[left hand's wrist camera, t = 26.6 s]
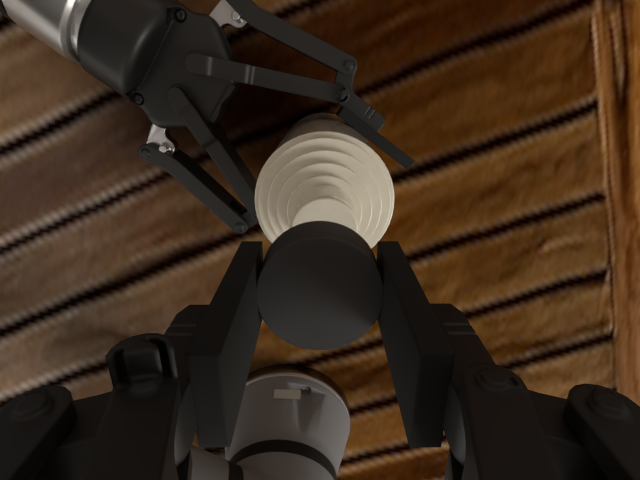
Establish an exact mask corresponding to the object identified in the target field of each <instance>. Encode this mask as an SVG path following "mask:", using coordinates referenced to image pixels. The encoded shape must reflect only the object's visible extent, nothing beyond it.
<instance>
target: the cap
mask: <svg viewBox="0 0 640 480" xmlns="http://www.w3.org/2000/svg"><path fill="white" fill-rule="evenodd" d="M256 288H257V303H258V310H259V312H260V315H261V317H262V319H263V320H264V322H265V323H266V325H267V326H268V327H269V328H270V330H271V331H273V332H274V333H275V334H276V335H277V336H278V337H280V338H281V339H283V340H284V341H286V342H288V343H290V344H292V345H295V346H298V347H301V348H305V349H311V350H328V349H335V348H339V347H342V346H345V345H348V344H350V343H352V342H354V341H356V340H357V339H359V338H360V337H362V336H363V335H364V334H365V333H366V332H367V331H369V329H370V328H371V327H372V326H373V325H374V323H375V322H376V320H377V319H378V317H379V314H380V312H381V309H382V300H383V281H382V277H381V274H380V271H379V268H378V265H377V262H376V259H375V256H374V254H373V251H372V249H371V248H370V246H369V245H368V243H367V242H366V241H365V240H364V239H363V238H362V237H361V236H360V235H359V234H358V233H357V232H355V231H354V230H352V229H350V228H348V227H346V226H344V225H341V224H338V223H335V222H330V221H310V222H305V223H302V224H298V225H296V226H294V227H291V228H290V229H288V230H286V231H285V232H283V233H282V234H281V235H280V236H279V237H278V238H277V239H276V240H275V241H274V242H273V243H272V245H271V246H270V248H269V249H268V251H267V253H266V256H265V259H264V262H263V265H262V268H261V271H260V274H259V277H258V280H257V285H256Z"/></svg>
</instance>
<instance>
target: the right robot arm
mask: <svg viewBox="0 0 640 480" xmlns="http://www.w3.org/2000/svg"><path fill="white" fill-rule="evenodd" d="M0 14H2V15H3V16H5V17H6V18H8V19H9V20H11V21H12V22H13V23H15V24H17V25H18V26H20V27H21V28H23V29H24V30H25V31H27V32H28V33H30V34H31V35H33V36H34V37H36V38H37V39H39V40H40V41H42V42H43V43H45V44H46V45H47V46H49V47H50V48H52V49H53V50H55V51H56V52H58V53H59V54H61V55H62V56H64V57H65V58H67V59H68V60H70V61H71V62H72V63H76V64H81V65H82V67H83V68H84V70H85V71H86V72H88V73H89V74H91V75H92V76H94V77H95V78H97V79H98V80H100V81H101V82H103V83H104V84H106V85H107V86H109V87H110V88H112V89H113V90H115V91H116V92H118V93H119V94H120V95H122V96H123V97H125V98H126V99H128V100H129V101H131V102H133V103H134V104H136V105H137V106H139V107H140V108H141V109H142V110H143V111H144V112H145V114H146V115H147V117H148V118H149V120H150V121H151V122H152V126H151V130H150V133H149V136H148V139H147V143H146V144H144V145H142V146H140V147H139V149H138V154H139V156H140V158H141V159H143V160H144V161H146V162H148V163H151V164H153V165H155V166H157V167H160V168H162V169H164V170H166V171H167V172H168V173H169V174H170V175H172V176H173V177H174V178H175V179H176V180H177V181H178V182H179V183H181V184H182V185H183V186H184V187H185V188H186V189H187V190H188V191H190V192H191V193H192V194H193V195H194V196H195V197H196V198H197V199H199V200H200V201H201V202H202V203H203V204H204V205H205V206H206V207H208V208H209V209H210V210H211V211H212V212H213V213H214V214H215V215H217V216H218V217H219V218H220V219H221V220H222V221H223V222H224V223H226V224H227V225H228V226H229V227H230V228H231V229H232V230H233V231H235V232H236V233H238V234H243V233H245V232H246V230H247V229H249V228H250V227H252V226H253V225H255V224H256V223H259V221H258V218H257V214H256V210H255V189H256V183H257V182H256V180H255V179H254V177H253V176H252V174H251V173H250V171H249V170H248V168H247V167H246V165H245V164H244V162H243V161H242V159H241V158H240V156H239V155H238V153H237V152H236V150H235V149H234V147H233V146H232V144H231V143H230V141H229V140H228V138H227V136H226V133H225V131H224V129H223V127H222V126H221V124H220V123H219V122H220V121H221V119H222V118H223V116H224V114H225V112H226V108H227V105H228V102H229V101H230V100H231V99H232V98H233V97H234V96H235V95H236V94H237V92H238V90H239V89H240V87H241V85H240V83H245V84H251V85H256V86H260V87H265V88H270V89H274V90H279V91H284V92H288V93H293V94H298V95H302V96H307V97H312V98H316V99H321V100H326V101H331V102H335V103H338V104H339V105H341V107H340V109H339V110H338V112H337V113H336V114H337V116H338V117H339V118H340V119H341V120H343V121H344V122H345V123H347V124H348V125H349V126H351V127H352V128H353V129H355V130H356V131H357V132H359V133H360V134H361V135H363V136H364V137H365V138H367V139H368V140H369V141H371V142H372V143H373V144H375V145H376V146H377V147H379V148H380V149H381V150H383V151H384V152H385V153H387V154H388V155H389V156H391V157H392V158H393V159H394V160H396V161H397V162H398V163H400V164H401V165H402V166H404V167H405V168H406V169H409V168H410V167H411V165H412V164H413V163H414V162H415V161H414V160H412V159H411V158H410V157H409V156H408V155H406V154H405V153H404V152H402V151H401V150H400V149H398V148H397V147H396V146H395V145H393V144H392V143H391V142H389V141H388V140H387V139H385V138H384V137H383V136H381V135H380V134H379V133H378V132H379V130H380V129H381V128H382V126H383V125H384V124H385V122H386V121H385V119H384V118H383V116H382V115H381V114H380V113H379V112H377V111H376V110H375V109H373V108H372V107H371V106H370V105H368V104H367V103H366V102H364V101H363V100H362V99H361V98H359V97H358V96H357V95H356V94H355V93H354V91H353V89H352V83H353V79H354V75H355V72H356V70H357V66H358V65H357V61H356V59H355V58H354V57H353V56H351V55H349V54H347V53H345V52H343V51H342V50H340V49H338V48H336V47H334V46H332V45H330V44H328V43H326V42H324V41H322V40H321V39H319V38H317V37H315V36H313V35H311V34H309V33H307V32H305V31H303V30H302V29H300V28H298V27H296V26H294V25H292V24H290V23H288V22H286V21H284V20H282V19H281V18H279V17H277V16H275V15H273V14H271V13H269V12H267V11H265V10H263V9H262V8H260V7H258V6H257V5H256V4H255V3H254V2H253V1H252V0H221V1H220V2H219V3H218V5H217V6H216V7H215V8H214V10H213V11H212V12H211V14H210V15H206V14H199V13H195V12H193V11H191V10H190V9H188V8H187V7H186V6H184V5H183V4H182V3H180V2H179V1H178V0H0ZM249 24H250V25H251V26H252V27H254V28H255V29H256V30H258V31H259V32H261V33H263V34H265V35H267V36H269V37H270V38H272V39H274V40H276V41H278V42H280V43H282V44H284V45H286V46H288V47H290V48H292V49H294V50H296V51H298V52H300V53H302V54H304V55H305V56H307V57H309V58H311V59H313V60H315V61H317V62H319V63H321V64H323V65H325V66H327V67H329V68H331V69H333V70H335V71H337V74H336V77H335V81H334V83H330V82H326V81H321V80H316V79H312V78H307V77H303V76H298V75H293V74H289V73H284V72H280V71H275V70H270V69H266V68H261V67H257V66H252V65H248V64H243V63H238V62H236V61H235V58H234V56H233V53H232V50H231V48H230V45H229V42H228V40H227V37H226V34H225V32H224V28H225V27H226V26H229V25H231V26H234V27H236V28H238V29H245V28H246V27H247V26H248V25H249ZM184 128H189V130H190V131H191V133H192V134H193V136H194V137H195V139H196V140H197V141H198V143H199V144H200V145H201V146H202V147H203V148H205V149H206V151H207V152H208V153H209V155H210V156H211V158H212V159H213V161H214V162H215V164H216V165H217V167H218V168H219V169H220V171H221V172H222V174H223V175H224V177H225V178H226V180H227V181H228V183H229V184H230V185H231V187H232V188H233V190H234V191H235V193H236V194H237V196H238V197H239V198H240V200H241V201H242V203H243V204H244V206H245V207H246V208H245V207H244V206H243V205H242V204H241V203H239V202H238V201H237V200H236V199H235V198H234V197H233V196H232V195H231V194H230V193H229V192H227V191H226V190H225V189H224V188H223V187H222V186H221V185H220V184H219V183H218V182H217V181H216V180H214V179H213V178H212V177H211V176H210V175H209V174H208V173H207V172H206V171H205V170H204V169H202V168H201V167H200V166H199V165H198V164H197V163H196V162H195V161H194V160H193V159H192V158H190V157H189V156H188V155H187V154H185V153H184V152H182V151H181V150H179V149H178V148H179V146H178V143H177V141H176V140H175V139H173V138H172V137H171V135H170V133H169V129H184Z"/></svg>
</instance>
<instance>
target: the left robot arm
mask: <svg viewBox="0 0 640 480" xmlns="http://www.w3.org/2000/svg"><path fill="white" fill-rule="evenodd" d="M376 262H377V265H378V268H379V271H380V274H381V277H382V281H383V300H382V309H381V312H380V314H379V317H378V323H379V327H380V331H381V335H382V339H383V343H384V347H385V351H386V355H387V359H388V363H389V367H390V371H391V375H392V379H393V383H394V387H395V391H396V395H397V399H398V403H399V407H400V411H401V415H402V419H403V423H404V427H405V431H406V435H407V439H408V443H409V447H441V443H442V436H443V430H444V432H445V435H446V438H447V441H448V443H449V446H450V450H449V455H448V461H447V467H446V473H445V479H444V480H640V407H639V406H638V405H637V404H635V403H634V402H633V401H632V400H630V399H629V398H628V397H626V396H624V395H622V394H620V393H618V392H616V391H614V390H612V389H609V388H606V387H603V386H599V385H592V384H581V385H575V386H574V387H573V388H572V389H571V390H570V391H569V394H568V397H567V399H563V398H559V397H555V396H550V395H546V394H541V393H537V392H534V391H531V390H528V389H527V387H526V386H525V384H524V383H523V381H522V380H521V378H519V377H518V376H517V375H516V374H514V373H513V372H512V371H510V370H508V369H506V368H504V367H502V366H499V365H496V364H495V362H494V361H493V359H492V358H491V356H490V355H489V353H488V351H487V350H486V348H485V347H484V345H483V344H482V342H481V340H480V339H479V337H478V336H477V335H476V334H475V331H474V329H473V328H472V326H470V323H469V322H468V320H467V318H466V317H465V315H464V314H463V313H462V312H461V311H460V310H458V309H457V308H456V307H454V306H453V305H451V304H429V302H428V300H427V298H426V296H425V294H424V292H423V290H422V288H421V286H420V284H419V282H418V280H417V278H416V276H415V274H414V272H413V270H412V268H411V266H410V264H409V262H408V260H407V258H406V256H405V254H404V253H403V251H402V249H401V247H400V245H399V243H398V241H378V244H377V261H376ZM262 265H263V249H262V241H242V242H241V244H240V246H239V248H238V250H237V252H236V254H235V256H234V258H233V260H232V262H231V264H230V266H229V268H228V270H227V272H226V274H225V276H224V278H223V279H222V281H221V283H220V285H219V287H218V289H217V291H216V293H215V295H214V297H213V299H212V301H211V303H210V305H189V306H187V307H186V308H185V309H183V310H182V311H181V312H179V313H178V314H177V315H176V316H175V318H174V320H173V321H172V323H171V324H170V327H169V328H168V329H167V331H166V332H165V335H162V334H158V333H146V334H141V335H137V336H133V337H130V338H128V339H126V340H123V341H121V342H120V343H118V344H117V345H116V346H114V347H113V348H111V350H110V351H109V352H108V354H107V355H106V360H107V364H108V368H109V372H110V376H111V379H112V383H113V387H114V388H113V390H112V391H111V392H108V393H104V394H101V395H97V396H92V397H88V398H84V399H79V400H75V401H73V398H72V395H71V392H70V391H69V390H68V389H66V388H65V387H61V386H56V385H53V386H45V387H40V388H37V389H34V390H30V391H27V392H25V393H23V394H22V395H20V396H18V397H16V398H14V399H12V400H11V401H10V402H8V403H7V404H6V405H5V406H3V407H2V408H1V409H0V480H337V472H338V469H339V466H340V463H341V460H342V456H343V453H344V450H345V446H346V443H347V440H348V436H349V432H350V413H349V406H348V402H347V400H346V397H345V395H344V394H343V392H342V391H341V390H340V388H339V387H338V386H337V385H336V384H335V383H334V382H333V381H331V380H330V379H329V378H327V377H326V376H324V375H322V374H320V373H318V372H316V371H313V370H311V369H307V368H304V367H298V366H288V365H283V366H272V367H267V368H264V369H260V370H258V371H255V372H253V373H251V374H249V370H250V366H251V362H252V358H253V354H254V350H255V346H256V342H257V338H258V334H259V330H260V326H261V322H262V317H261V315H260V312H259V310H258V303H257V288H256V285H257V280H258V277H259V274H260V271H261V268H262ZM248 374H249V375H248ZM196 432H197V438H198V444H199V447H225V450H224V451H220V452H217V453H214V454H212V453H210V452H208V451H205V450H203V449H201V448H198V447H196V446H194V445H192V442H193V439H194V436H195V433H196ZM224 458H226V459H224Z"/></svg>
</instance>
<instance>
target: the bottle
mask: <svg viewBox="0 0 640 480" xmlns="http://www.w3.org/2000/svg"><path fill="white" fill-rule="evenodd" d="M393 209H394V188H393V183H392V179H391V177H390V174H389V171H388V169H387V168H386V166H385V164H384V162H383V161H382V160H381V158H380V157H379V156H378V154H377V153H376V152H375V150H374V149H373V148H372V147H371V145H370V144H369V143H368V142H367V140H366V139H365V138H364V136H363V135H361V134H360V133H359V132H357V131H356V130H355V129H353V128H352V127H351V126H349V125H348V124H347V123H345V122H344V121H343V120H341V119H340V118H339V117H338V116H337V115H336V114H332V113H316V114H312V115H309V116H307V117H304V118H302V119H301V120H299V121H298V122H297V123H295V124H294V125H293V126H292V127H291V128H290V130H289V131H288V132H287V134H286V135H285V136H284V138H283V139H282V141H281V142H280V143H279V145H278V146H277V147H276V149H275V150H274V151H273V153H272V154H271V156H270V157H269V158H268V160H267V161H266V163H265V164H264V166H263V168H262V170H261V172H260V174H259V177H258V180H257V183H256V189H255V210H256V214H257V218H258V221H259V223H260V226H261V228H262V230H263V232H264V233H265V235H266V236H267V238H268V239H269V240H270V241H271V243H273V242H274V241H275V240H276V239H277V238H278V237H279V236H280V235H281V234H282V233H283V232H285V231H286V230H288V229H290V228H291V227H294V226H296V225H298V224H302V223H305V222H310V221H330V222H335V223H338V224H341V225H344V226H346V227H348V228H350V229H352V230H354V231H355V232H357V233H358V234H359V235H360V236H361V237H362V238H363V239H364V240H365V241H366V242H367V243H368V245H369V246H370V248H372V247H373V246H375V245H376V243H377V242H378V241H379V240H380V239H381V237H382V236H383V234H384V233H385V231H386V229H387V227H388V225H389V223H390V220H391V217H392V214H393Z"/></svg>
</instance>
